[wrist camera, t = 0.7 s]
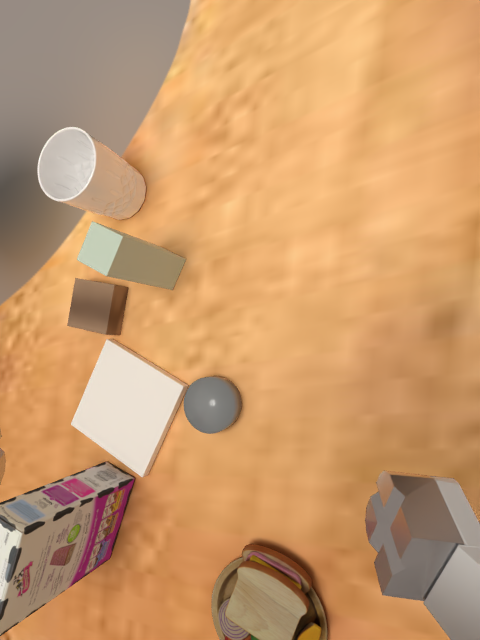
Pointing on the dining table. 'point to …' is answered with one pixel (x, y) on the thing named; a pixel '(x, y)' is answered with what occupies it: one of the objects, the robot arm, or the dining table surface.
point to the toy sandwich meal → (266, 599)
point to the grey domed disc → (212, 404)
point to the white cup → (89, 175)
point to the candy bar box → (57, 537)
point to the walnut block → (97, 307)
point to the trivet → (128, 406)
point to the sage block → (129, 258)
